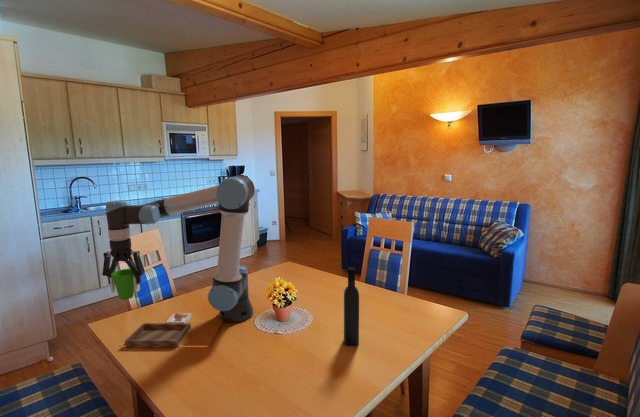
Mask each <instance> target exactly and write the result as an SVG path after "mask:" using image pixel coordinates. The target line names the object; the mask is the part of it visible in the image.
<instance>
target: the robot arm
mask: <svg viewBox="0 0 640 417" xmlns="http://www.w3.org/2000/svg"><path fill="white" fill-rule="evenodd" d="M255 190H256V188H255V184H254V182H253V181H252V180H251V179H250V178H249V177H248V176H246V175H235V176H230V177H227V178H225V179H223V180H222V181H221V182H220V183H219V184H217V185H214V186H210V187H207V188H202V189H198V190H194V191H191V192H187V193H182V194H178V195H174V196H171V197H166V198H163V199H157V200H154V201H152V202H148V203H144V204H141V205H140V204H139V205H128V203H127V202H128V201H126V200H123V199H122V200H121V199H120V200H119V199H118V200H110V201H107V202H106V203H105V217H106V221H107V233H108V239H109V241H108V242H109V248H110V251H109V250H108V251H106V252H103V253H102V254H103V266H102V273H101V275H102V276H103V277H107V281H108V285H110V291H111V294H113V293H115V292H116V291H117V289H116V286H115V283H114V280H113V277H112V276H111V274H112V273H113V272H115V271H116V269H117V267H118V265H119V262H124V263H125V264H127V266H128V268H129V269H131V271H132V272H133V274H134V275H135V277H133V280H134V293H138V292H139V291H140V290H141V287H140V286H141V285H140V284H141V283H142V277H141V276H143V275H144V274H146V270H145V268H144V265H143V262H142V259H141V256H140V253H141V252H140V251H139V250H137V251H135V250H132V239H131V238H130V237H131V232H130V231H131V230H130V225H154V224H157V223H158V221H159V220H160V219H161V218H164V217H165V218H166V217H168V216H172V215H177V214H181V213H184V212H185V213H186V212H189V211H193V210H197V209H201V208H205V207H210V206H213V205H217V204H218V209H217V210H218V211H219V212H220V214H221V218H220V219H221V220H220V234H219V244H218V257H217V269H216V271H215V272H214V273H213V274H212V282H211V288H210V289H209V291H208V294H207V300H208V304H209V305H210V306H211V307H212V308H214V309H215V310H217V311H218V312H219V313H218V314H219V316H218V317H219V318H220V320H221V321H222V322H224V323H231V324H233V323H241V322H245V321H247V320H249V319H250V318H252V316H254V307H253V306H252V302H251V300H250V298H249V278H248V277H249V276H248V275H249V273H248V268H247V267H246V266H244V265H240V262H241V253H242V252H241V251H242V240H243V230H244V221H245V220H244V219H245V216H246V215H248V213H249V208H250V201H251V199H252V198H253V197H254V194H255V192H256V191H255ZM111 258H112V260H111Z"/></svg>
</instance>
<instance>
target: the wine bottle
mask: <svg viewBox="0 0 640 417" xmlns="http://www.w3.org/2000/svg"><path fill="white" fill-rule="evenodd" d="M356 274H357V273H356V268H355V267H347V286H346V287H345V288H344V291H343V344H344V345H345V344H346V345H345V346H358V345H360V344H359V343H360V342H359V341H360V294H359V292H360V291H359V289H358V287H356Z"/></svg>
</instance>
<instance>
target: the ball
mask: <svg viewBox="0 0 640 417" xmlns="http://www.w3.org/2000/svg"><path fill="white" fill-rule="evenodd" d="M174 314H175V316H174V317H175V319H176V320H177V321H179V320H181V319H182V318H183V314H184V313H182V312H180V311H177V312H176V313H174Z"/></svg>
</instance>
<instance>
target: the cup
mask: <svg viewBox="0 0 640 417" xmlns="http://www.w3.org/2000/svg"><path fill="white" fill-rule="evenodd" d="M111 276H112V277H113V280H114V283H115V286H116V289H117V290H116V291H117V294H118V297H119V299H120V300H121V301H122V300H124V301H125V300H129V299H133V297H134V294H135V289H134V280H133V277H135V275H134V274H133V272H132V271H131V269H130V268H123V269H118V270H115V271H114V272H113V273H112V274H111Z"/></svg>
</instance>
